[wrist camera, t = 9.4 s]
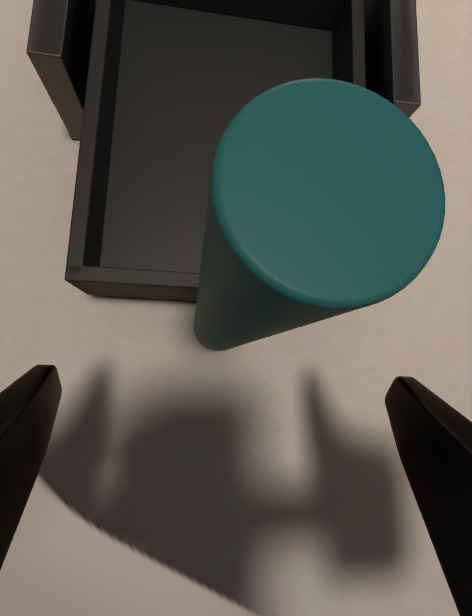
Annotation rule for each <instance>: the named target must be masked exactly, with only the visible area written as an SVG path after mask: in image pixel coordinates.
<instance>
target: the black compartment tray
mask: <svg viewBox="0 0 472 616" xmlns="http://www.w3.org/2000/svg"><path fill="white" fill-rule="evenodd" d="M444 216H445V192H444V184H443V180H442V176H441V172H440V168H439V166H438V163H437V160H436V158H435V155H434V153H433V151H432V149H431V148H430V146H429V144H428V142H427V140H426V139H425V138H424V136H423V135H422V133H421V132H420V130H419V129H418V128H417V127H416V125H415V124H414V123H413V122H412V121H411V120H410V119H409V118H408V117H407V116H406V115H405V114H404V113H403V112H402V111H401V110H400V109H399V108H397V107H396V106H395V105H393V104H392V103H391V102H389V101H388V100H387V99H385V98H383V97H381V96H380V95H378V94H376V93H375V92H372V91H370V90H368V89H366V78H365V34H364V0H96V5H95V14H94V23H93V32H92V41H91V49H90V58H89V67H88V76H87V85H86V94H85V103H84V112H83V121H82V130H81V139H80V148H79V157H78V166H77V175H76V184H75V192H74V201H73V210H72V219H71V228H70V237H69V246H68V255H67V264H66V272H65V280H66V281H67V282H69V283H70V284H72V285H74V286H75V287H77V288H78V289H80V290H81V291H83V292H85V293H86V294H90V295H108V296H125V297H143V298H161V299H179V300H196V301H197V302H196V311H195V320H194V331H195V335H196V337H197V339H198V340H199V342H200V343H201V344H202V345H203V346H205V347H206V348H208V349H211V350H215V351H222V350H226V349H230V348H233V347H236V346H239V345H243V344H246V343H249V342H252V341H256V340H259V339H262V338H265V337H269V336H272V335H275V334H278V333H282V332H285V331H288V330H291V329H295V328H298V327H301V326H304V325H308V324H311V323H314V322H317V321H321V320H324V319H327V318H330V317H334V316H337V315H340V314H343V313H347V312H350V311H353V310H356V309H360V308H363V307H366V306H369V305H373V304H376V303H379V302H381V301H383V300H385V299H387V298H389V297H392V296H393V295H395V294H396V293H398V292H399V291H401V290H402V289H404V288H405V287H406V286H407V285H408V284H409V283H411V282H412V281H413V280H414V279H415V278H416V277H417V276H418V274H419V273H420V272H421V271H422V270H423V268H424V267H425V265H426V264H427V262H428V261H429V259H430V257H431V256H432V254H433V252H434V250H435V248H436V246H437V243H438V241H439V239H440V235H441V231H442V228H443V223H444Z"/></svg>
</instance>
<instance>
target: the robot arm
mask: <svg viewBox="0 0 472 616" xmlns="http://www.w3.org/2000/svg"><path fill="white" fill-rule="evenodd" d="M61 393H62V388H61V383H60V379H59V375H58V372H57V368H56V367H55V366H54V365H36V366H34V367H33V368H32V369H30V370H29V371H28V372H27V373H25V374H24V375H23V376H21V377H20V378H19V379H17V380H16V381H15V382H14V383H12V384H11V385H10V386H8V387H7V388H6V389H5V390H3V391H2V392H1V393H0V569H1V567H2V564H3V562H4V559H5V556H6V554H7V552H8V549H9V547H10V544H11V541H12V539H13V536H14V534H15V531H16V529H17V526H18V524H19V521H20V518H21V516H22V513H23V511H24V508H25V506H26V503H27V501H28V498H29V496H30V493H31V490H32V488H33V485H34V483H35V480H36V478H37V475H38V473H39V470H40V468H41V465H42V462H43V460H44V457H45V454H46V450H47V447H48V444H49V440H50V436H51V432H52V428H53V425H54V421H55V417H56V413H57V410H58V406H59V402H60V398H61ZM385 405H386V409H387V412H388V416H389V420H390V424H391V427H392V431H393V435H394V439H395V442H396V446H397V449H398V453H399V456H400V459H401V462H402V464H403V467H404V470H405V472H406V475H407V478H408V480H409V483H410V486H411V488H412V491H413V493H414V496H415V499H416V501H417V504H418V507H419V509H420V512H421V515H422V517H423V520H424V522H425V525H426V528H427V530H428V533H429V536H430V538H431V541H432V543H433V546H434V549H435V551H436V554H437V557H438V559H439V562H440V565H441V567H442V570H443V572H444V575H445V578H446V580H447V583H448V586H449V588H450V591H451V594H452V596H453V599H454V601H455V604H456V607H457V609H458V612H459V615H460V616H472V422H471V421H470V420H468V419H467V418H466V417H464V416H463V415H462V414H460V413H459V412H458V411H456V410H455V409H454V408H452V407H451V406H450V405H448V404H447V403H446V402H445V401H443V400H442V399H441V398H439V397H438V396H437V395H435V394H434V393H433V392H431V391H430V390H429V389H427V388H426V387H425V386H424V385H422V384H421V383H420V382H418V381H417V380H416V379H414V378H412V377H404V376H399V377H396V378H395V379H394V381H393V383H392V385H391V386H390V388H389V390H388V392H387V394H386V397H385Z"/></svg>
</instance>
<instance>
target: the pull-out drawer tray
mask: <svg viewBox="0 0 472 616" xmlns="http://www.w3.org/2000/svg"><path fill="white" fill-rule="evenodd" d="M95 5H96V0H34V2H33V9H32V16H31V23H30V30H29V37H28V44H27V54H28V56H29V58H30V60H31V62H32V64H33V66H34V68H35V69H36V71H37V73H38V75H39V77H40V79H41V81H42V83H43V85H44V86H45V88H46V90H47V92H48V94H49V96H50V98H51V100H52V102H53V103H54V105H55V107H56V109H57V111H58V113H59V115H60V117H61V118H62V120H63V122H64V124H65V126H66V128H67V130H68V132H69V134H70V135H71V137H72V139H76V140H80V139H81V130H82V121H83V112H84V103H85V94H86V85H87V76H88V67H89V58H90V49H91V41H92V32H93V23H94V14H95ZM364 34H365V78H366V89H368V90H370V91H372V92H375V93H376V94H378V95H380V96H381V97H383V98H385V99H387V100H388V101H389V102H391V103H392V104H393V105H395V106H396V107H397V108H399V109H400V110H401V111H402V112H403V113H404V114H405V115H406V116H407V117H408V118H410V116H411V115H412V114H413V113H414V112H415V111H416V110H417V109H418V108H419V106H420V105H421V97H420V77H419V57H418V36H417V16H416V0H364Z"/></svg>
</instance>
